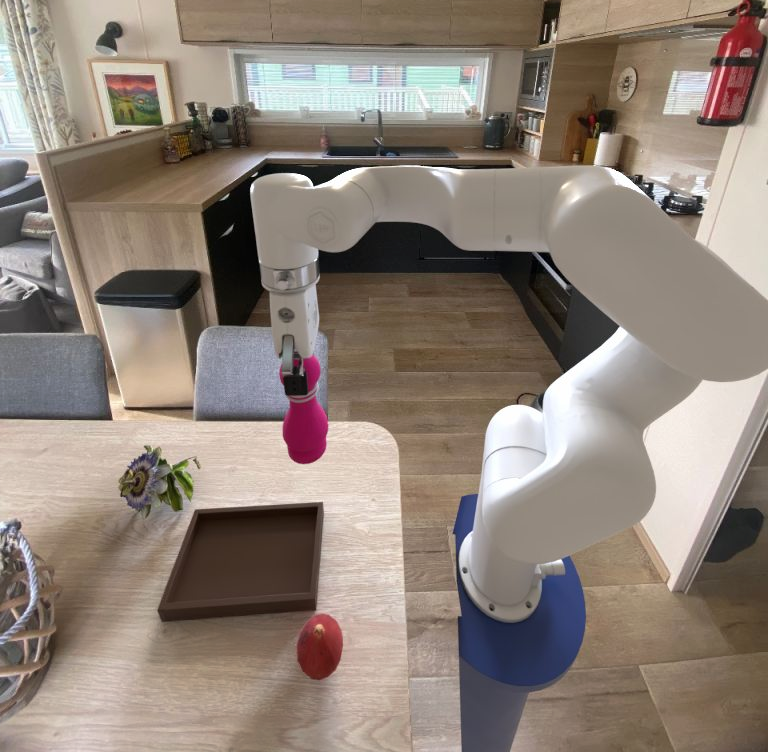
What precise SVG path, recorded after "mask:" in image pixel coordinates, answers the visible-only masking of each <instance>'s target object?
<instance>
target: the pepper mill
mask: <svg viewBox="0 0 768 752" xmlns="http://www.w3.org/2000/svg"><path fill="white" fill-rule="evenodd" d="M294 351H297V350H296V348H295V349H294ZM294 366H299V358H294ZM304 370H307V381H308V394H307V395H299V396H286V395H285V397H286V399H287V400H288V401H289V407H288V410H287V412H286V414H285V417H284V418H283V422H282V429H281V430H282V432H281V433H282V438H283V441H284V443H285V444H286V448H287V454H288V456H289V458H290V460H292V461H293V463H296V464H299V465H309V464H313V463H315V462H317V461H318V460H320V459H321V458H322V457H323V455H324V454H325V453H326V450H327V445H328V443H327V435H328V433H329V420H328V416H327V414H326V412H325V410H324V409H323V407H322V406H321V404H320V403H319V401H318V400H317V394H318V392H319V387H320V386H319V379H320V376H321V375H322V373H321V372H322V371H321V370H322V369H321V364H320V361H319V359H318V358H317V357H316V356H315V354H314V355H312V356H311V357H310V358H304ZM278 373H279V380H280V383H281V384H282V386H284V382H283V375H282V363H281V364H280V367H279V371H278Z"/></svg>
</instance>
